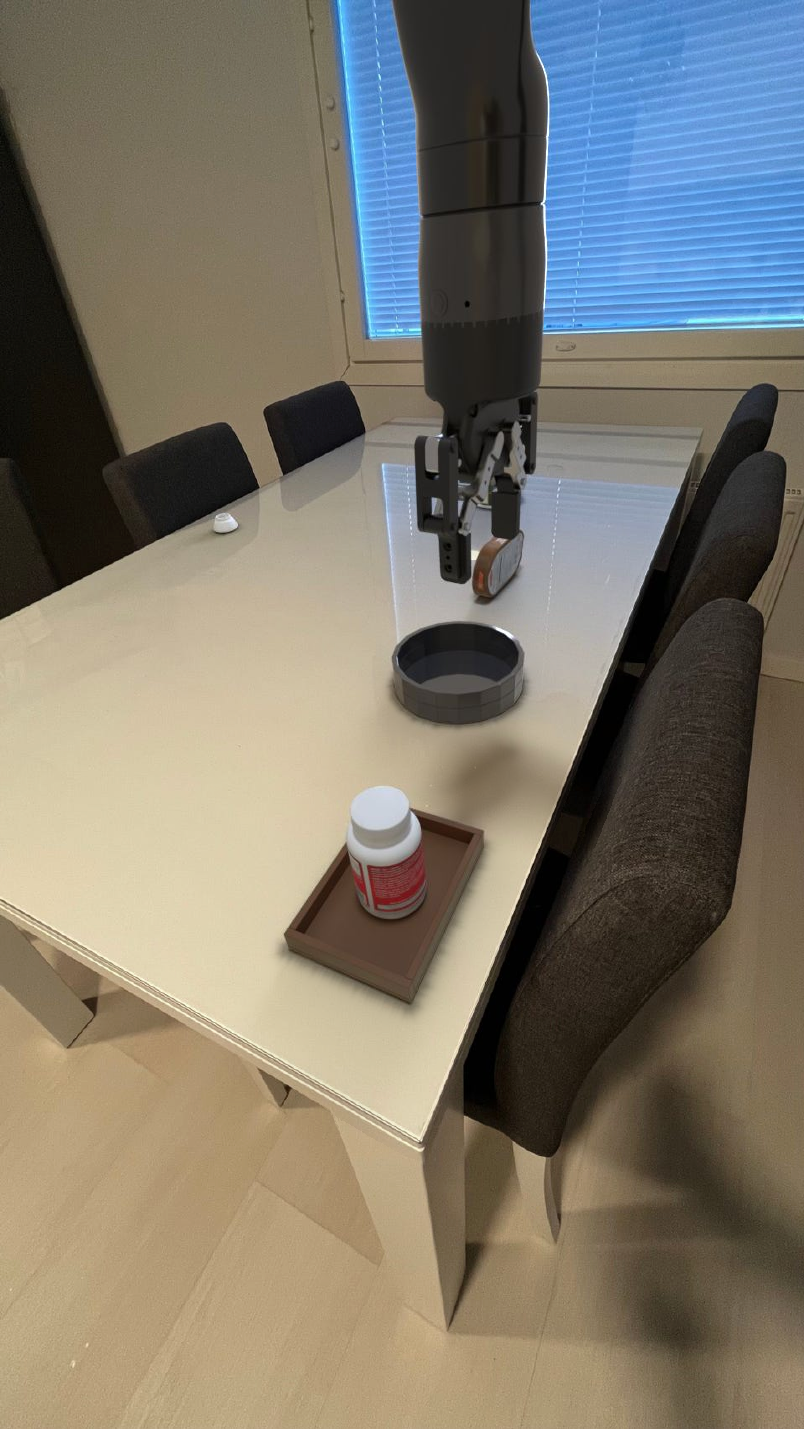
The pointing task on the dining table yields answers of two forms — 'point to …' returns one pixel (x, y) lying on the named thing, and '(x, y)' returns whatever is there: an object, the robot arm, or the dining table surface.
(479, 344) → the robot arm
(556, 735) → the dining table surface
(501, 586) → the tin
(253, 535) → the dining table surface
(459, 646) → the bowl
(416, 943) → the tray
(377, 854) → the pill bottle
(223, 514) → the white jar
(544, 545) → the dining table surface
